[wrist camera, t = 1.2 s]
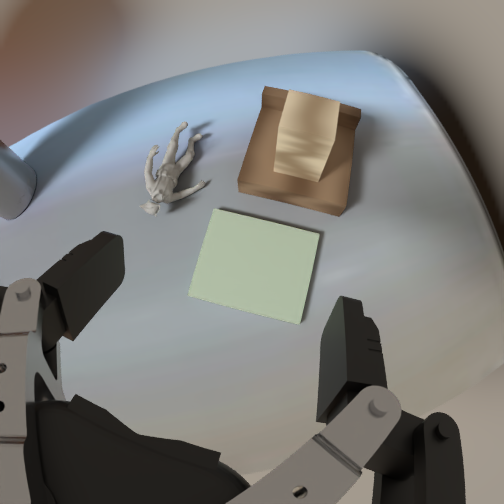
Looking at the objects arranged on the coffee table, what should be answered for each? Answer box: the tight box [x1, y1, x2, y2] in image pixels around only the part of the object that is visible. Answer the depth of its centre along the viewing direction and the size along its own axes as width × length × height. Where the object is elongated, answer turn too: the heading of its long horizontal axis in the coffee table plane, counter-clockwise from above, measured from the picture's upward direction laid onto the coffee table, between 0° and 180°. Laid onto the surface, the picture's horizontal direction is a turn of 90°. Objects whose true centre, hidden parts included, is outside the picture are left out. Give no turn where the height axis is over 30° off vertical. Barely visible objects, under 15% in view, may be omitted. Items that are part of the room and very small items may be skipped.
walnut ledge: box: [238, 86, 361, 217], centre depth 33 cm, size 12×12×6 cm
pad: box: [188, 209, 319, 325], centre depth 32 cm, size 12×10×1 cm
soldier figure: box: [139, 122, 206, 217], centre depth 34 cm, size 8×5×12 cm
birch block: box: [274, 90, 340, 182], centre depth 29 cm, size 5×5×8 cm
